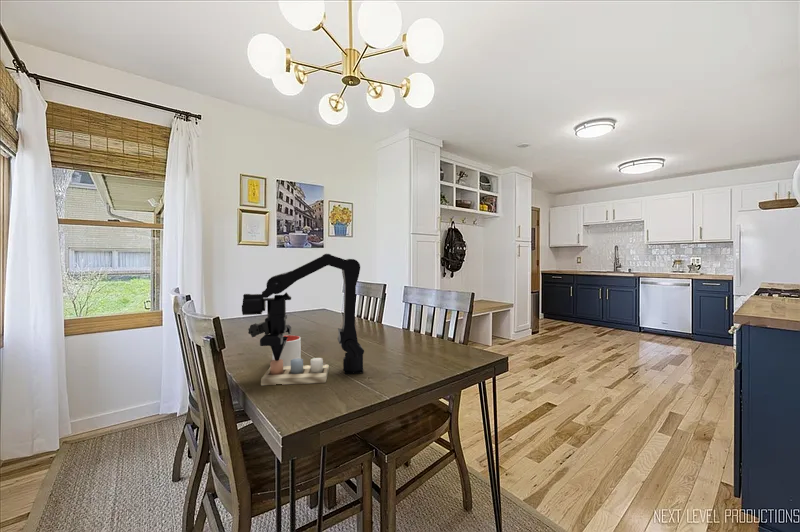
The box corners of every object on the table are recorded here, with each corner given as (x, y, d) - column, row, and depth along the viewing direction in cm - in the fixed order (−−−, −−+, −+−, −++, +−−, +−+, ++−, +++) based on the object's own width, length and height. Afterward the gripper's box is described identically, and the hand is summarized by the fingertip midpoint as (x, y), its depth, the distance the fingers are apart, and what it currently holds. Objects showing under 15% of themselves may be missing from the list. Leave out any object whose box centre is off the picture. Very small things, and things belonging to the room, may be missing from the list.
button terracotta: (284, 370, 116) (284, 358, 116) (281, 374, 112) (281, 362, 112) (272, 370, 116) (271, 359, 116) (269, 375, 112) (269, 363, 112)
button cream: (323, 369, 118) (323, 357, 118) (322, 373, 114) (322, 361, 114) (311, 369, 117) (311, 357, 117) (309, 373, 113) (309, 361, 113)
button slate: (303, 369, 117) (303, 358, 117) (302, 373, 113) (302, 361, 113) (291, 370, 117) (291, 358, 116) (289, 374, 113) (289, 362, 113)
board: (328, 370, 122) (328, 364, 122) (325, 382, 110) (325, 376, 110) (270, 372, 120) (270, 366, 120) (261, 385, 108) (260, 379, 108)
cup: (292, 370, 122) (292, 342, 122) (267, 368, 124) (266, 340, 124) (305, 361, 132) (305, 335, 132) (281, 359, 134) (281, 334, 134)
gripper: (259, 309, 122) (259, 353, 122) (241, 319, 103) (242, 370, 104) (291, 309, 123) (291, 352, 124) (280, 318, 105) (280, 369, 105)
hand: (277, 360), depth 114 cm, fingers closed
